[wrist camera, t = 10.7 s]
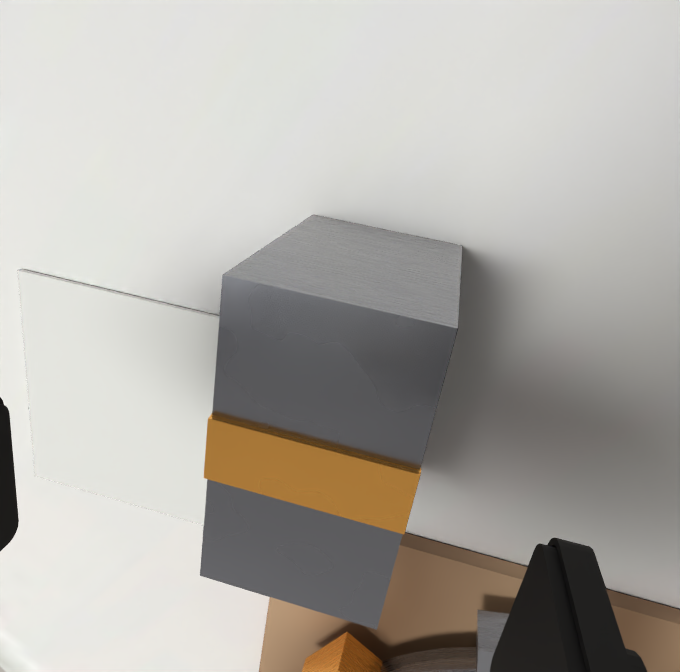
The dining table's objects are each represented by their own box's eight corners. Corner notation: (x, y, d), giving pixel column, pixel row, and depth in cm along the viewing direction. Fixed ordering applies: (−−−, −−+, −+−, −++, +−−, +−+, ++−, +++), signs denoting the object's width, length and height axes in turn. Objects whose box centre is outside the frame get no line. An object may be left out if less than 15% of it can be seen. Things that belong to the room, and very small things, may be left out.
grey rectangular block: (463, 245, 14) (458, 332, 9) (407, 464, 17) (376, 635, 12) (312, 213, 15) (218, 277, 9) (282, 431, 18) (196, 580, 12)
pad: (263, 326, 16) (261, 328, 16) (240, 533, 19) (238, 535, 19) (21, 268, 17) (17, 270, 17) (37, 473, 21) (34, 476, 20)
